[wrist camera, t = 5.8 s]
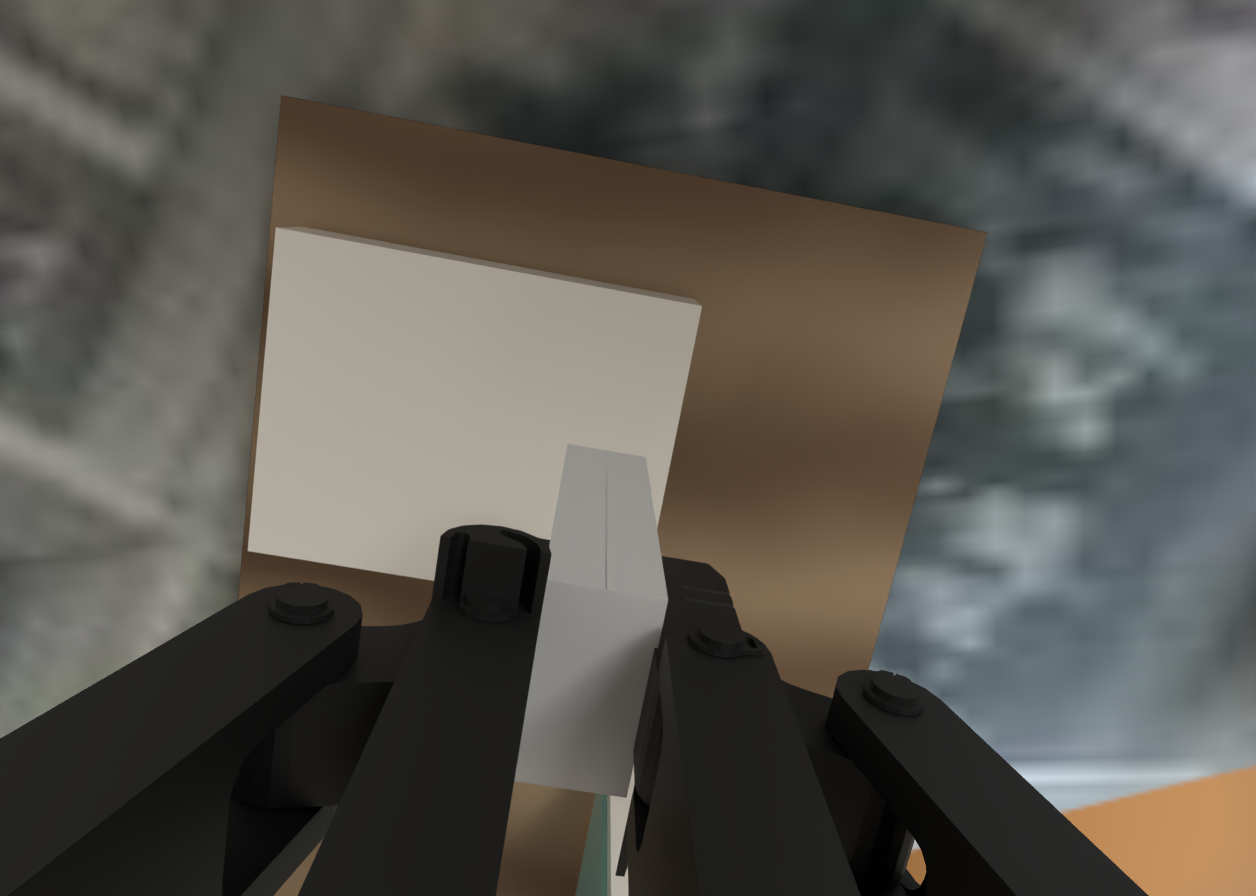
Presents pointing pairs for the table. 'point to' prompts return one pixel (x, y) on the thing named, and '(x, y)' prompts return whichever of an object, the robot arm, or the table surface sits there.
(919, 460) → the board
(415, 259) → the tile
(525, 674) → the robot arm
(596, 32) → the table surface
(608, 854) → the tile
